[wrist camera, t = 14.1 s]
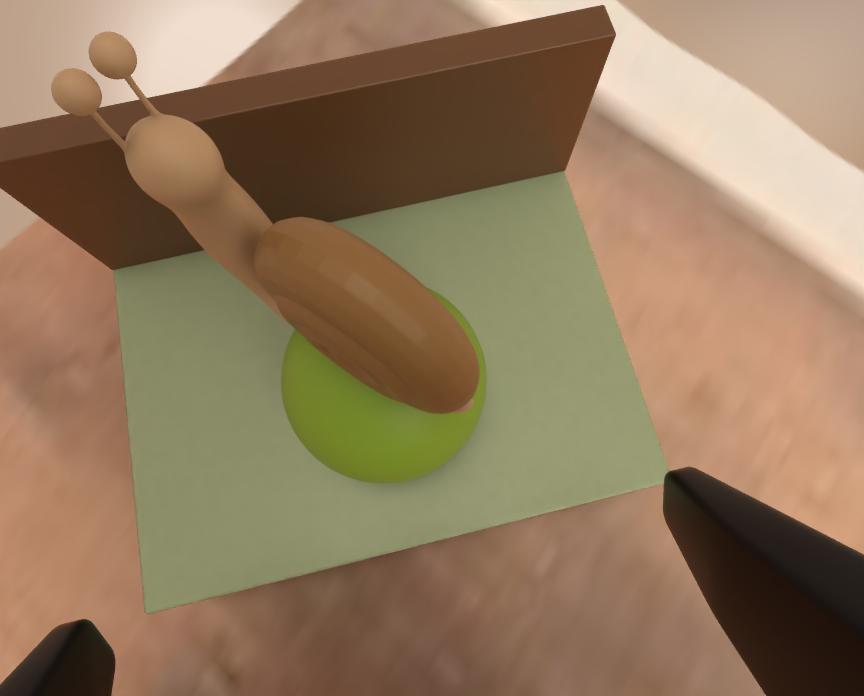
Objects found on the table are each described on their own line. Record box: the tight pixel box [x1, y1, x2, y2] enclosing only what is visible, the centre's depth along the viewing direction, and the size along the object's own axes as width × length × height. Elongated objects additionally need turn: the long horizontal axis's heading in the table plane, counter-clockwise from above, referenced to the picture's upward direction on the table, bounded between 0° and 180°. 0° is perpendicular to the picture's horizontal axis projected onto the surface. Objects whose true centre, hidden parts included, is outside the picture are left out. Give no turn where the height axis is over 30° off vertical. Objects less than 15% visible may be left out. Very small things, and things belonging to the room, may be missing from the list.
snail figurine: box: [51, 32, 487, 483], centre depth 12 cm, size 5×6×12 cm
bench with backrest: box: [0, 5, 669, 614], centre depth 17 cm, size 12×16×10 cm
